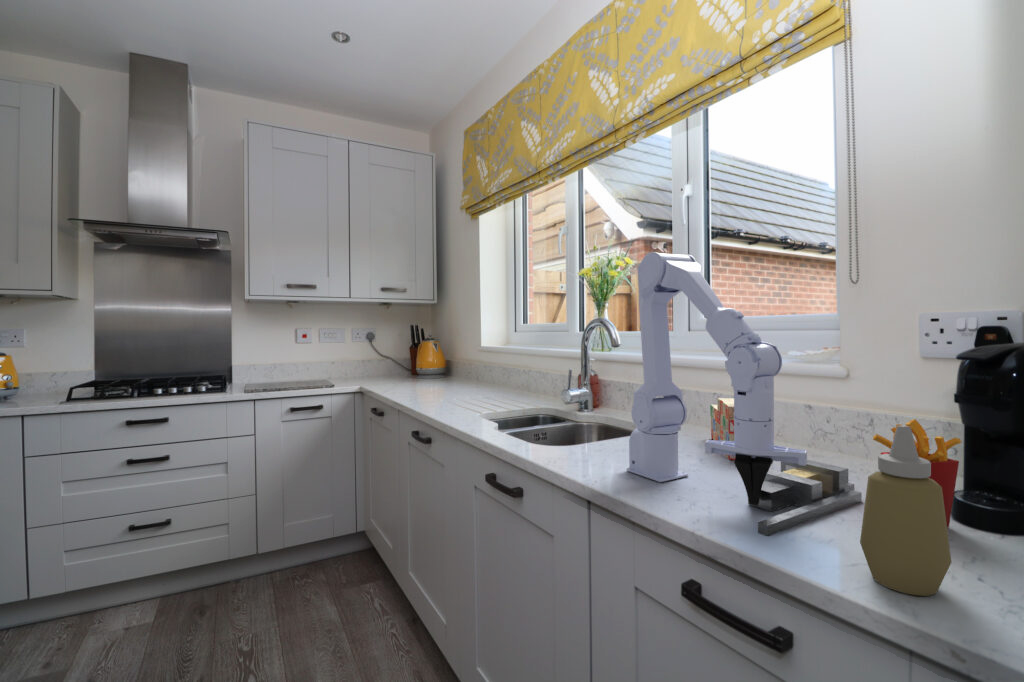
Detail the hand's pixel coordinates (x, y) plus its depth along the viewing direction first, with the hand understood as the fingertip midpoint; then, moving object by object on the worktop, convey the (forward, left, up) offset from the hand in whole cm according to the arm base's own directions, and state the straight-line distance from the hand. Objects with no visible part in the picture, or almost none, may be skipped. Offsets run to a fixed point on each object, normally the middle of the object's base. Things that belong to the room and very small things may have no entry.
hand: (754, 503), depth 78 cm
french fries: (+14, +16, -1) cm, 21 cm away
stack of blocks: (-27, +33, -2) cm, 42 cm away
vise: (+1, +7, -1) cm, 7 cm away
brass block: (0, +13, -1) cm, 13 cm away
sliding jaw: (0, +6, -1) cm, 6 cm away
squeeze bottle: (+22, -6, -1) cm, 23 cm away
